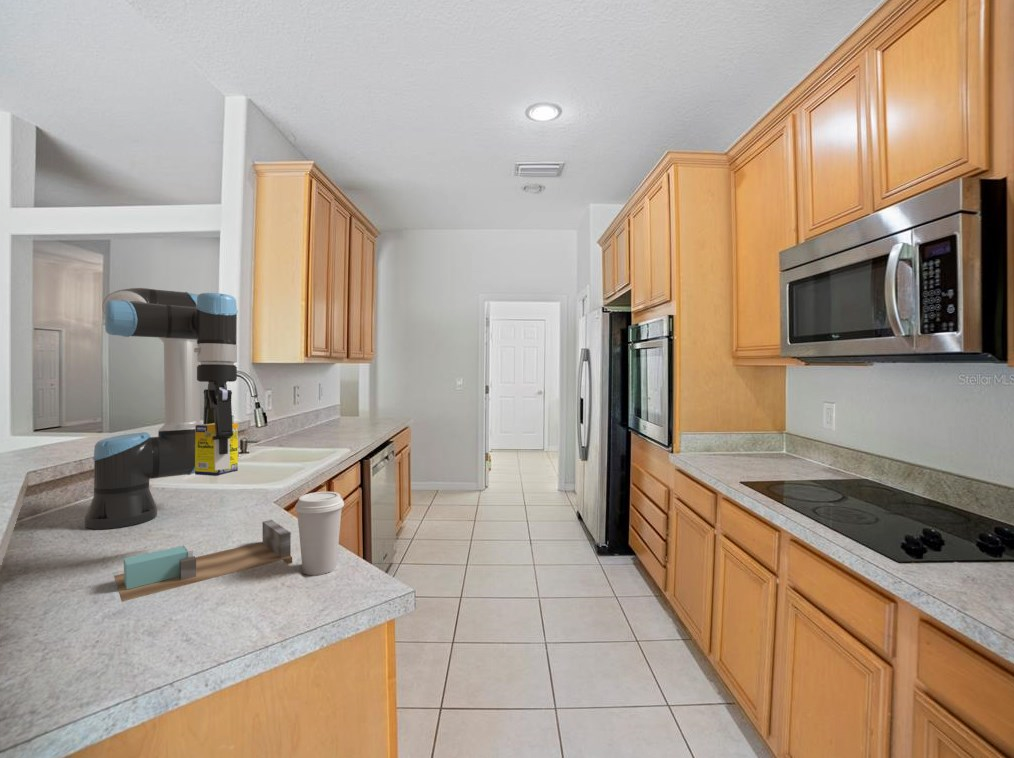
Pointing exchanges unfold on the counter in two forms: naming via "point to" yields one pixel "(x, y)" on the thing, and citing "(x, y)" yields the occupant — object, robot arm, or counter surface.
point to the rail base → (220, 562)
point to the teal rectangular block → (154, 566)
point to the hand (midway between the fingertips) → (217, 466)
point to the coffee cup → (319, 530)
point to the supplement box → (213, 450)
